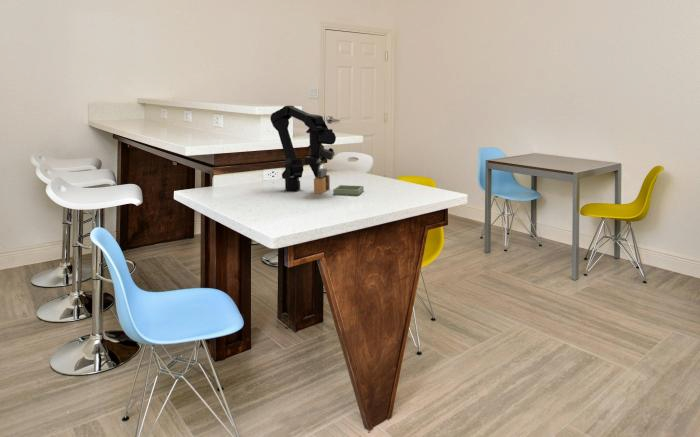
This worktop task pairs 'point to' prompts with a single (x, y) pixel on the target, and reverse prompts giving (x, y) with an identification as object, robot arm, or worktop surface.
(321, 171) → the dark gray block
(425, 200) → the worktop surface
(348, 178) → the worktop surface
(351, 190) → the tray
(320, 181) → the orange brown block
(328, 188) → the wood grain block
